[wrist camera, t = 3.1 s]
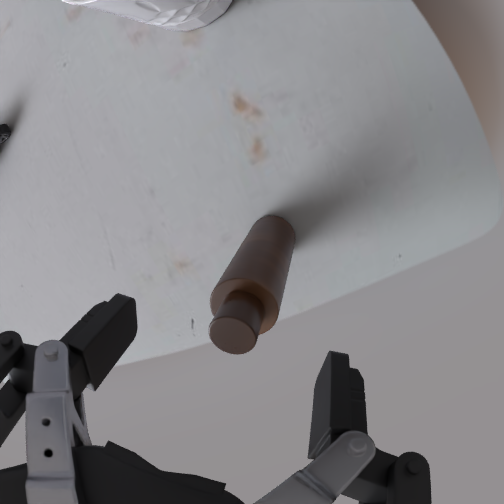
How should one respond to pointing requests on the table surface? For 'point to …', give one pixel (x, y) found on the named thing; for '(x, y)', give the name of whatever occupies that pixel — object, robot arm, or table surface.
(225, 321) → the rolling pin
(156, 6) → the white cup
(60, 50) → the table surface
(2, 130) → the toy car
